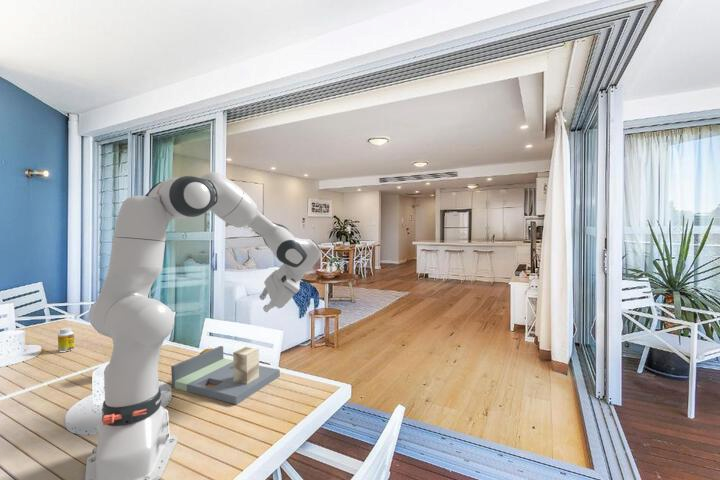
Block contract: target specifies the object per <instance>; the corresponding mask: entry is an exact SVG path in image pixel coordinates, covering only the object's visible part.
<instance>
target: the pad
mask: <svg viewBox="0 0 720 480" xmlns="http://www.w3.org/2000/svg"><path fill="white" fill-rule="evenodd" d="M231 362H233V359H228V358H224V359H222V360H219V361H217V362H215V363H213V364H211V365H209V366H206V367H204V368H202V369H200V370H198V371H196V372H193V373H191V374H189V375H187V376H185V377H183V378H180V379H178V380H176V381H175V388H174V389H176V390H180V391H184V392H187V384H188V383H190V382H192V381H195V380H197V379H199V378H201V377H203V376H205V375H207V374H209V373H211V372H213V371H215V370H217V369H219V368H221V367H223V366H225V365H227V364H229V363H231Z"/></svg>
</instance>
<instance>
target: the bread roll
mask: <svg viewBox="0 0 720 480" xmlns="http://www.w3.org/2000/svg"><path fill="white" fill-rule="evenodd" d="M212 349H213V348H205V349H204V350H202V351H201V352H200V353H199V354H198V355H200V354H202V353H205V352H207V351H210V350H212Z"/></svg>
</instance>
